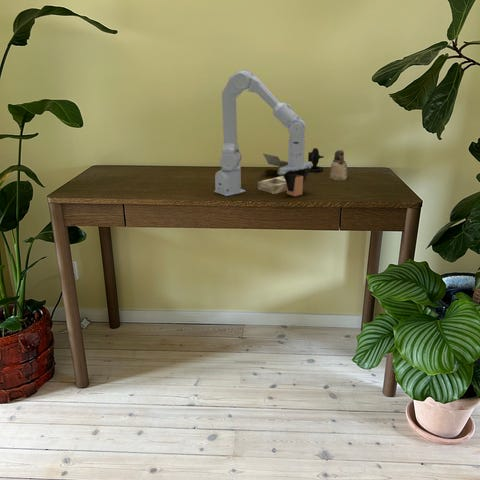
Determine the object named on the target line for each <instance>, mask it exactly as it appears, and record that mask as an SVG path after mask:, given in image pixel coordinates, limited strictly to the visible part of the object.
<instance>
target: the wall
mask: <svg viewBox="0 0 480 480" xmlns="http://www.w3.org/2000/svg"><path fill="white" fill-rule="evenodd" d="M262 154H263V155H262V156H263V157H264V159H265V160H266V162H267V164H268V165H272V166H275V167H276V166H277V167H278V169H277V173H276V174H277V175H278V177H281V176H283V174H281V173H280V168H281V167H284V166H286V165H288V161H285V160H281V159H280V157H278V156H277V155H272V154H266V153H262ZM293 173H295V171H293Z"/></svg>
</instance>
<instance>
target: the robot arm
mask: <svg viewBox="0 0 480 480" xmlns="http://www.w3.org/2000/svg"><path fill="white" fill-rule="evenodd" d="M245 90H247V92H249V93H255V94H257V95H258V96H259V97H260V98H261V99H262V100H263V101H264V103H266V104H267V105H268V106H269V107H270V108H271V109H272V115H273V116H274V117H275V118H276V119H277V120H278V121H279V122H280V123H281V125H283V126H284V128H287V131H288V133H289V139H288V155H287V162H288V165H286V166H284V167H281V168H280V173H281V174H283V176H284V178H285V181H286V184H287V188H288V191H291V192H292V191H293V190H294V182H295V178H296V175H297V174H298V175H301V176H303V184H304V183H305V180H306V178H307V176H308V174H309V173H310V172H309V170H306V168H311V166H312V162H308V161H306V162H305V147H306V146H305V144H306V140H305V138H306V134H305V132H306V128H307V125H306V122H305V121H304V119H303V118H302V117H300V115H299V114H297V113H295V111H294V110H292V109H291V107H292V105H291V104H289V103H286V102H284V101H283V102H280V101H279V100H278V98H276V96H274V94H273V93H272V92H271V91H270V90H269V89H268V88H267V86H266V85H265V84H264V82H262V81H261V79H259V78H258V77H257V76H256V75H254V74H253V73H252V72H251V71H250V70H248V69H243V70H239V71H235V72H234V73H233V74H232V75H231V76H230V77H229V78H228V81H227V83H226V85H225V86H224V88H223V90H222V91H221V105H222V107H221V108H222V128H223V129H222V131H223V132H222V133H223V144H222V145H223V146H222V150H221V151H222V152H221V157H220V159H219V164H220V166H221V169H220V170H217V172H215V174H214V182H215V183H214V185H215V187H214V189H215V190H213V192H214V193H216V194H220V195H222V196H224V197H229V196H233V195H236V194H237V195H238V194H241V193H242V194H243V193H245V192H246V190H245V189H242V180H241V179H242V177H241V176H242V170H241V169H242V167H241V166H240V163H241V161H242V157H243V156H242V153H241V151H240V148H239V147H240V146H239V143H238V123H237V122H238V121H237V118H238V116H237V98H239V96H240V95H241V94H242V92H244V91H245ZM293 171H294V172H293Z"/></svg>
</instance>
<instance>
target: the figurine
mask: <svg viewBox="0 0 480 480" xmlns="http://www.w3.org/2000/svg"><path fill="white" fill-rule="evenodd" d="M330 164H331V165H330V171H329V172H330V173H329V179H330V180H333V181H339V182H341V181H346V180H347V179H348V165H347V161H346V160H345V151H344V150H342V149H338V150H336V151H335V152H334V157H333V160H332V163H330Z"/></svg>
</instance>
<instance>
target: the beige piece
mask: <svg viewBox="0 0 480 480" xmlns="http://www.w3.org/2000/svg"><path fill="white" fill-rule="evenodd" d="M257 190H259V191H263V192H266V193H269V194H272V195H275V194H279V193H283V192H287V184H286V181H285V178H284V176H277V177H273V178H269V179H268V178H267V179H264V180H258V181H257Z"/></svg>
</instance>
